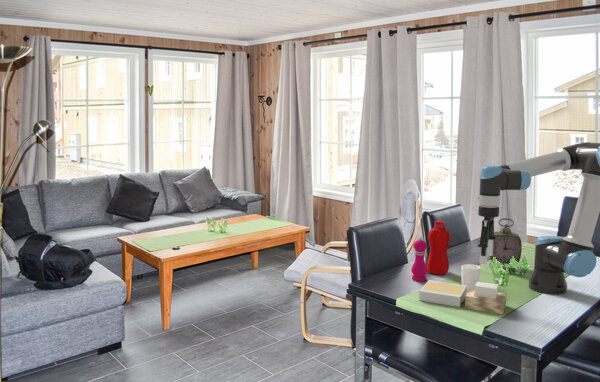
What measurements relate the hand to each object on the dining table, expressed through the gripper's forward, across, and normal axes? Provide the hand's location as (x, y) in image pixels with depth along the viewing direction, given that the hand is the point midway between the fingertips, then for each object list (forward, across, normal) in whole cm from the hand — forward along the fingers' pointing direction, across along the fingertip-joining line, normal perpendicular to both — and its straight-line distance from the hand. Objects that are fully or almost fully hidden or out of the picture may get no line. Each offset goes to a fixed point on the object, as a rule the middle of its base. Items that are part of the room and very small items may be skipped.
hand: (486, 259), depth 205 cm
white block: (+14, 0, +1) cm, 14 cm away
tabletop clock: (+19, -58, 0) cm, 62 cm away
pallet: (+19, 0, +1) cm, 19 cm away
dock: (+19, -2, -16) cm, 25 cm away
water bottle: (+19, -36, -26) cm, 48 cm away
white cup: (+19, -18, -8) cm, 28 cm away
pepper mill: (+19, -21, -32) cm, 42 cm away
